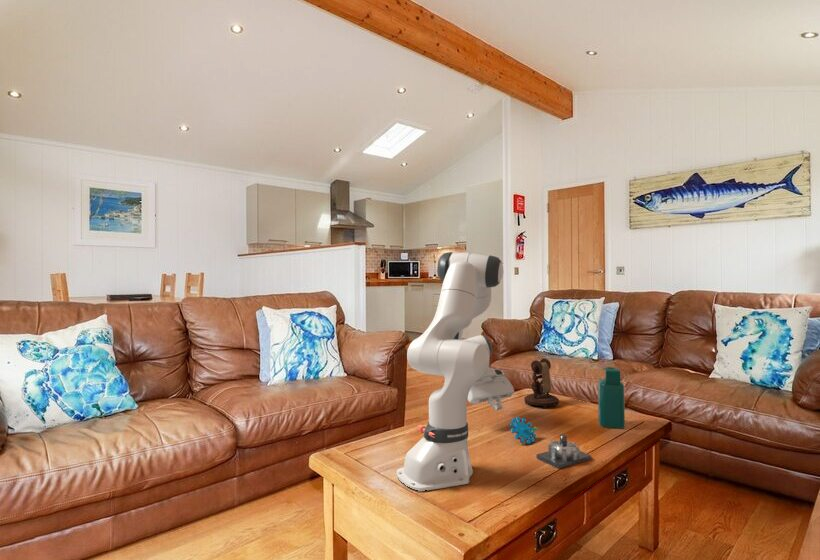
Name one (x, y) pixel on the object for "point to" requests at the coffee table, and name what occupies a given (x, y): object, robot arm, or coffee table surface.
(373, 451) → the coffee table surface
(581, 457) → the grey metal fixture
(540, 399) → the dark brown figurine
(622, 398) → the green bottle
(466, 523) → the coffee table surface
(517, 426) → the gear
